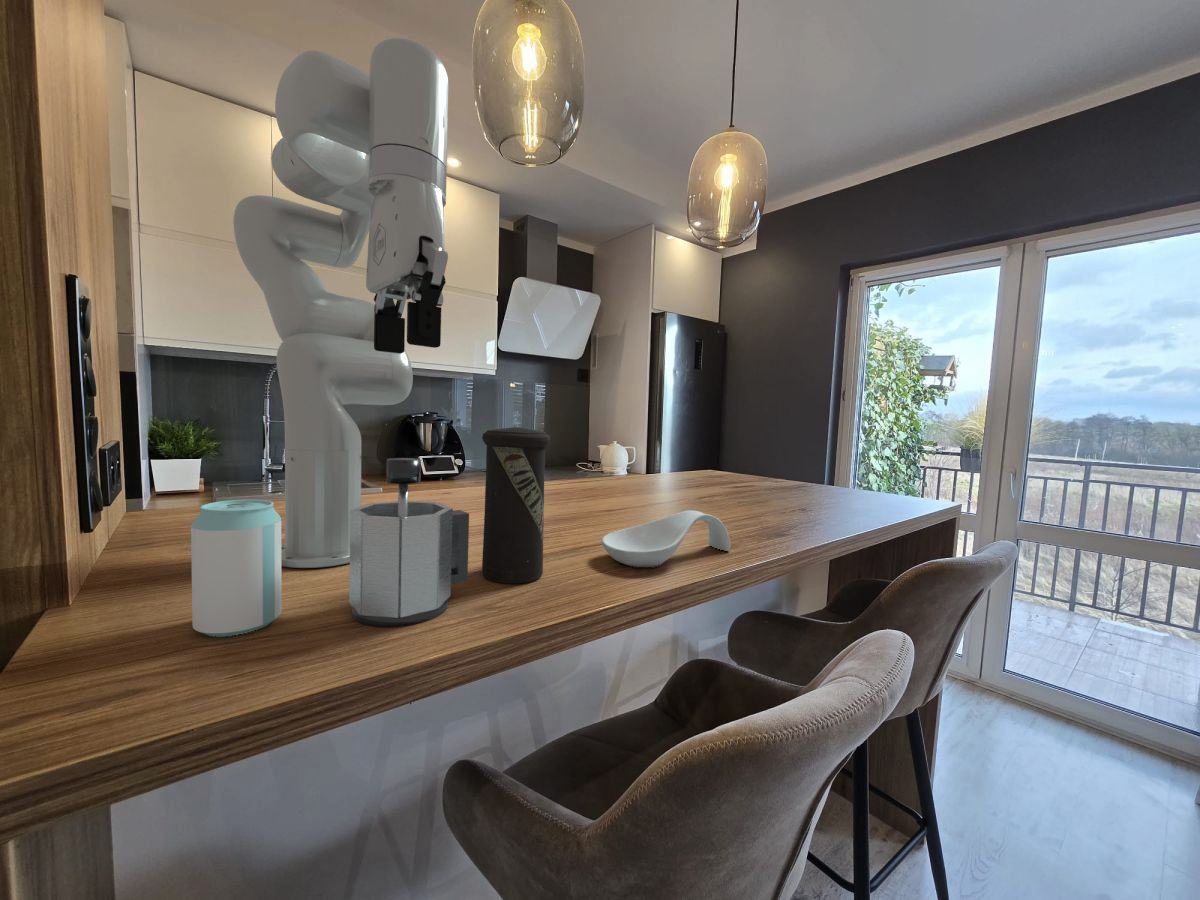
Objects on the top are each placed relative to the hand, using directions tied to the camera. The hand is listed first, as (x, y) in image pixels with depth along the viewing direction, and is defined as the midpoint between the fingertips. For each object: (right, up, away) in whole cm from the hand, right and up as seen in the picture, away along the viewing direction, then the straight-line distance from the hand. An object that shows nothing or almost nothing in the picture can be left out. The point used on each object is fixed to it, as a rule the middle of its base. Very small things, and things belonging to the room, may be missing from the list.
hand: (405, 349), depth 52 cm
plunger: (-1, -25, +2) cm, 25 cm away
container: (+9, -28, +15) cm, 33 cm away
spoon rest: (+32, -28, +27) cm, 50 cm away
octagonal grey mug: (0, -28, +3) cm, 28 cm away
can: (-15, -28, -4) cm, 32 cm away
